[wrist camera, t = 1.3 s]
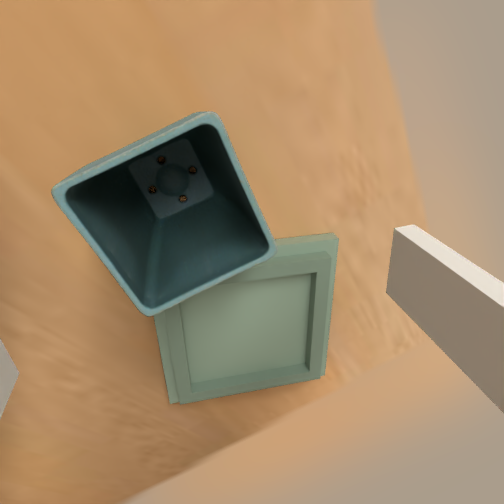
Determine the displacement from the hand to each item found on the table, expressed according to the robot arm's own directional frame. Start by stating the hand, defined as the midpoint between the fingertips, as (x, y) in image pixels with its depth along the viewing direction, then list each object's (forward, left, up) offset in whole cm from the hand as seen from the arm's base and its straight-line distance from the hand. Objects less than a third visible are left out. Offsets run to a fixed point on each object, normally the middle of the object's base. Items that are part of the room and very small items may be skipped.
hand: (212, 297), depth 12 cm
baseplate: (+4, -15, -17) cm, 23 cm away
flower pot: (-1, -1, -17) cm, 17 cm away
